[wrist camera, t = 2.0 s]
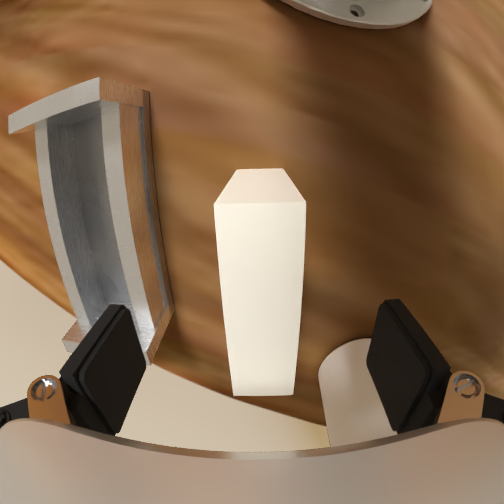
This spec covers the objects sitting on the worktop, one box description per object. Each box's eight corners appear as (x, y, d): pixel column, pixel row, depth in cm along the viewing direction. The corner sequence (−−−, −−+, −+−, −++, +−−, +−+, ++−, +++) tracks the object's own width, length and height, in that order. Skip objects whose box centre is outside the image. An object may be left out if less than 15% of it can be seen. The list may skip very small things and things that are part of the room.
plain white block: (235, 169, 15) (211, 204, 8) (283, 168, 15) (307, 202, 7) (242, 296, 18) (232, 395, 11) (282, 295, 18) (294, 394, 11)
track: (67, 113, 13) (8, 115, 8) (149, 91, 13) (99, 76, 8) (102, 305, 19) (67, 352, 14) (175, 308, 19) (150, 365, 14)
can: (405, 344, 20) (462, 463, 9) (361, 393, 22) (391, 505, 11) (345, 325, 19) (396, 479, 8) (302, 381, 21) (317, 515, 10)
